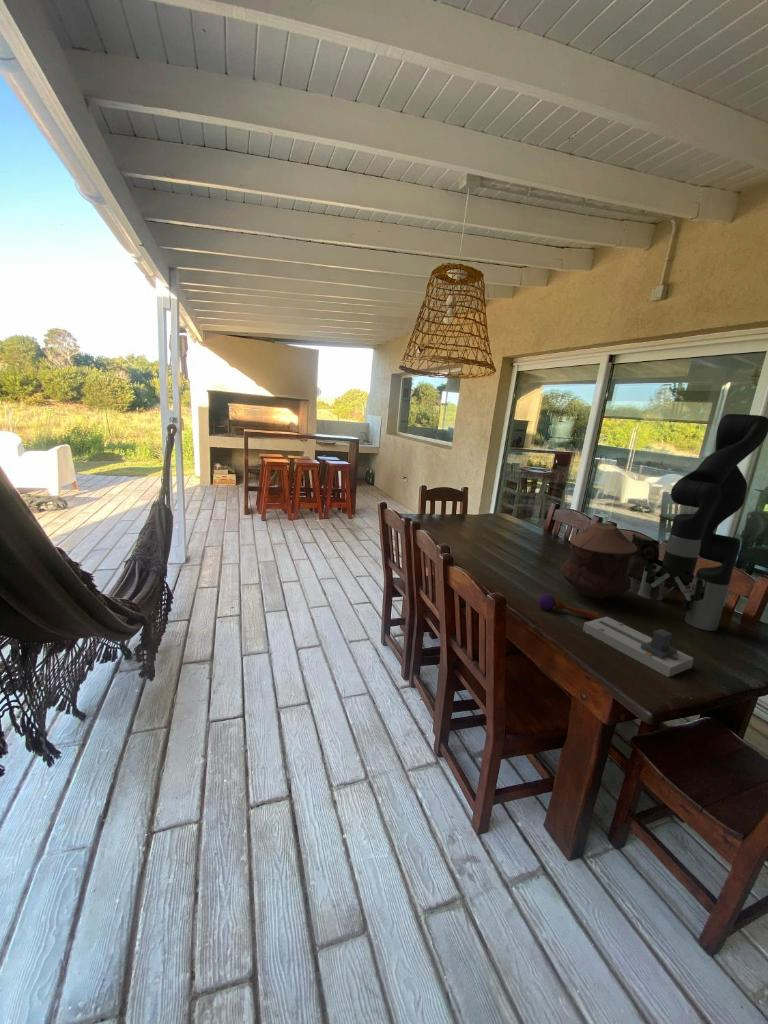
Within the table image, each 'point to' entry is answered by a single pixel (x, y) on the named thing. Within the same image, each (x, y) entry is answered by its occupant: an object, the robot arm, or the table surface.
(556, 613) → the table surface
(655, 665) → the slider console
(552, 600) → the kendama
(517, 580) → the table surface
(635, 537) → the owl
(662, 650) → the fader tab
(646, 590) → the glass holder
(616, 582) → the pottery vessel
